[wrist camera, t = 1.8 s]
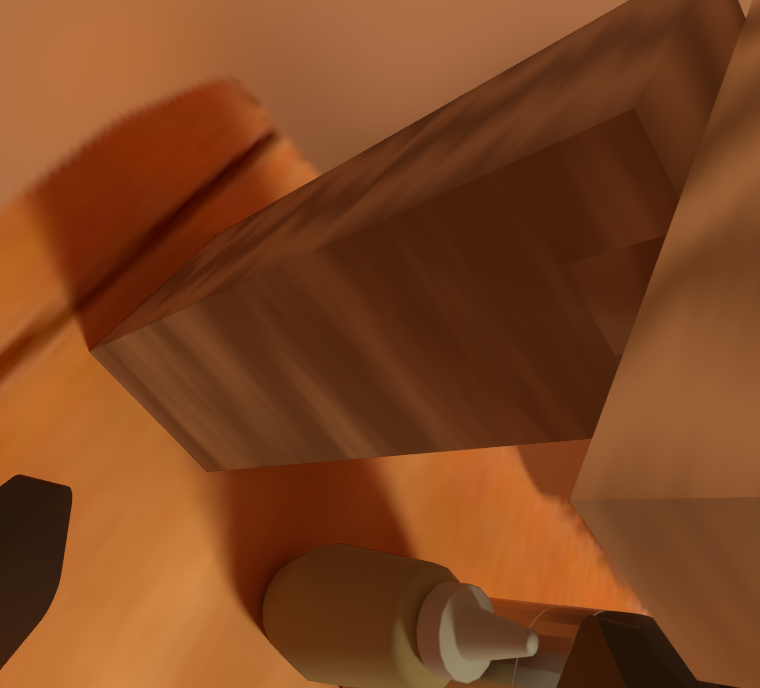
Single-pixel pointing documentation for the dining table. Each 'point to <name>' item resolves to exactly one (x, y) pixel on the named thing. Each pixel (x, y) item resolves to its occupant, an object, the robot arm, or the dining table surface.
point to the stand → (444, 264)
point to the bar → (695, 406)
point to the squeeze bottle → (385, 621)
